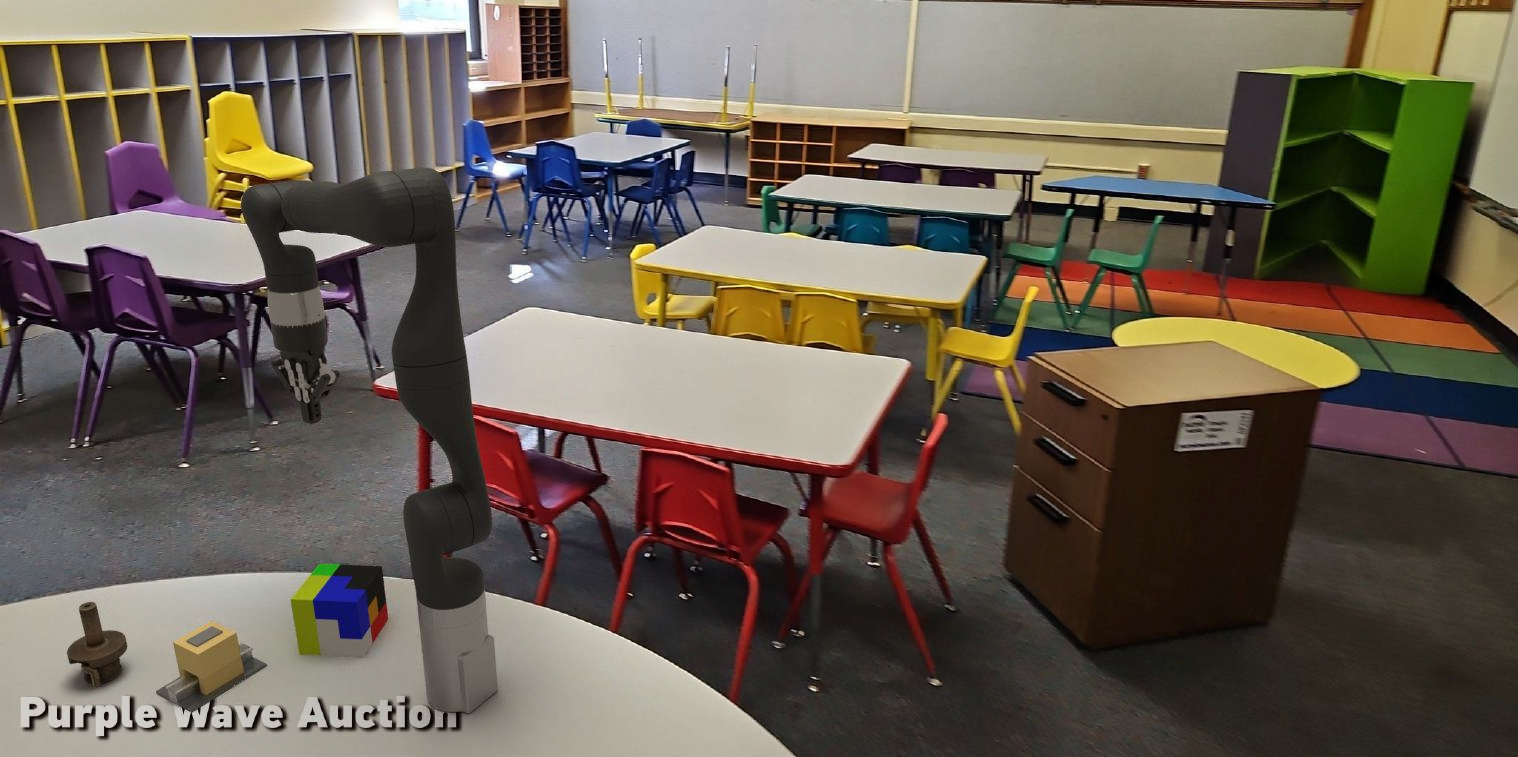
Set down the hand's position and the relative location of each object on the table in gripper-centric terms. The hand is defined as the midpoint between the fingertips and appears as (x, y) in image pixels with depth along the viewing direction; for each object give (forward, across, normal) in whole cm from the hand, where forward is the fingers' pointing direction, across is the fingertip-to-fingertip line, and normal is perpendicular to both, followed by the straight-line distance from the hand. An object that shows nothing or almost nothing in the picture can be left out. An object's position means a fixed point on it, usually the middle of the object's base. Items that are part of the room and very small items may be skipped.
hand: (312, 421), depth 156 cm
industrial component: (+32, +13, +30) cm, 46 cm away
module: (+32, -2, +24) cm, 40 cm away
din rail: (+32, -2, +24) cm, 40 cm away
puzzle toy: (+32, -10, +7) cm, 35 cm away
